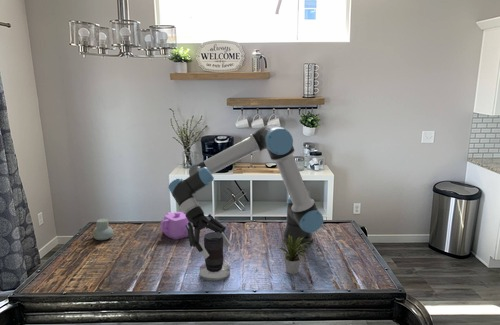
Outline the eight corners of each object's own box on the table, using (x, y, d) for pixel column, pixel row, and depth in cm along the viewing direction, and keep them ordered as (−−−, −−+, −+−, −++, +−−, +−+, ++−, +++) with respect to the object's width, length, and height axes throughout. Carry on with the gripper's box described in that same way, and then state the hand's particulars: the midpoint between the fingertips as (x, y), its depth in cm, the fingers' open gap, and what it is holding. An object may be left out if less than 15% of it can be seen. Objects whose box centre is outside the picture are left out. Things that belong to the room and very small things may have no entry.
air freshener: (115, 239, 199) (114, 221, 197) (99, 243, 193) (98, 225, 191) (107, 233, 207) (105, 215, 204) (91, 237, 201) (90, 219, 199)
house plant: (301, 284, 155) (302, 247, 151) (270, 275, 161) (271, 240, 158) (313, 269, 167) (314, 234, 163) (284, 262, 173) (285, 228, 170)
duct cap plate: (232, 268, 168) (232, 261, 167) (226, 283, 155) (226, 276, 154) (203, 266, 169) (203, 260, 169) (196, 281, 157) (195, 274, 156)
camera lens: (202, 265, 164) (201, 233, 161) (220, 262, 166) (220, 230, 163) (207, 274, 156) (206, 240, 153) (226, 270, 159) (225, 237, 156)
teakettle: (166, 227, 214) (165, 207, 212) (196, 228, 214) (195, 207, 211) (158, 240, 198) (157, 217, 195) (190, 240, 197) (189, 218, 194)
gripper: (207, 207, 176) (232, 245, 170) (166, 223, 157) (192, 266, 151) (216, 198, 172) (241, 237, 166) (174, 213, 153) (201, 258, 147)
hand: (218, 251), depth 159 cm, fingers open, 13 cm apart
